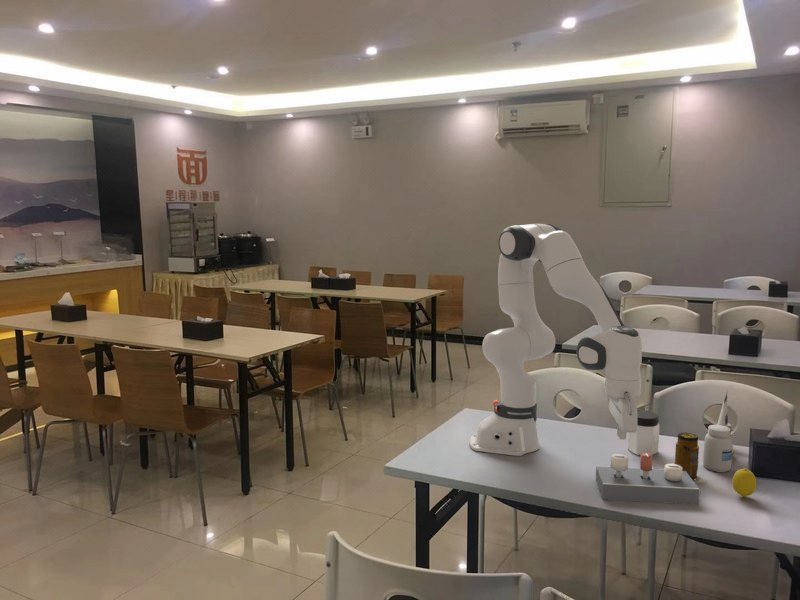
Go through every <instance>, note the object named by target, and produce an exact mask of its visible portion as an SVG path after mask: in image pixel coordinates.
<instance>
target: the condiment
mask: <svg viewBox="0 0 800 600" xmlns="http://www.w3.org/2000/svg"><path fill="white" fill-rule="evenodd" d="M698 441H699V437H698V436H697V435H696V434H695V433H691V432H687V431H686V432H679V433H678V434H677V441H676V443H675V454H674V464H677V465H679V466H681V467H682V471H686V472H687V473H688V475H689V476H690V477H691V479H692V480H693V482H694V483H695V484H696V483H706V481H705V479H703V478H702V476H700V475H699V474H698V470H699V469H698V468H699V454H700V452H699V451H700V446H699V442H698Z"/></svg>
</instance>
